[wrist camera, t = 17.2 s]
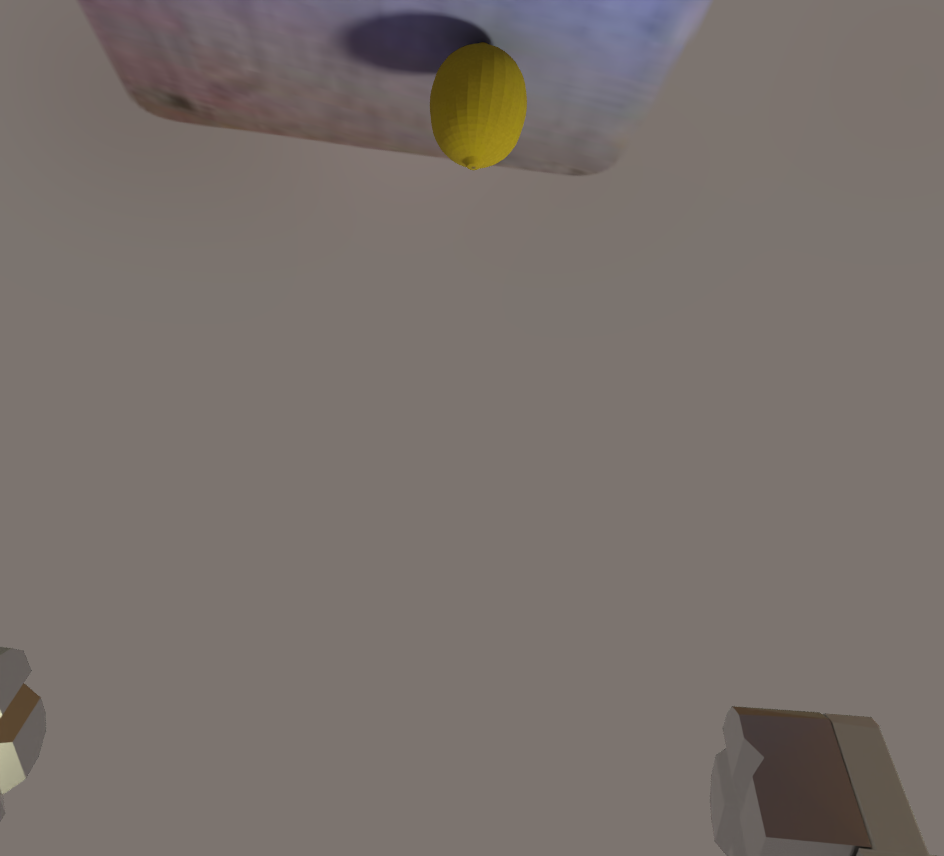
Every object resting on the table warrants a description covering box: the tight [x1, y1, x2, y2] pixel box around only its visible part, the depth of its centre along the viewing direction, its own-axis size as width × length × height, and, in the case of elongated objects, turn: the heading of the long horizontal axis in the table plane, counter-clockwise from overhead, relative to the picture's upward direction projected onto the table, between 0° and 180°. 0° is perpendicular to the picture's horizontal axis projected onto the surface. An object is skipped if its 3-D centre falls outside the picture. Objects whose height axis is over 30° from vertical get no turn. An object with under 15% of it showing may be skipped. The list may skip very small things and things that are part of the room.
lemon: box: [430, 42, 527, 170], centre depth 50 cm, size 6×6×8 cm
